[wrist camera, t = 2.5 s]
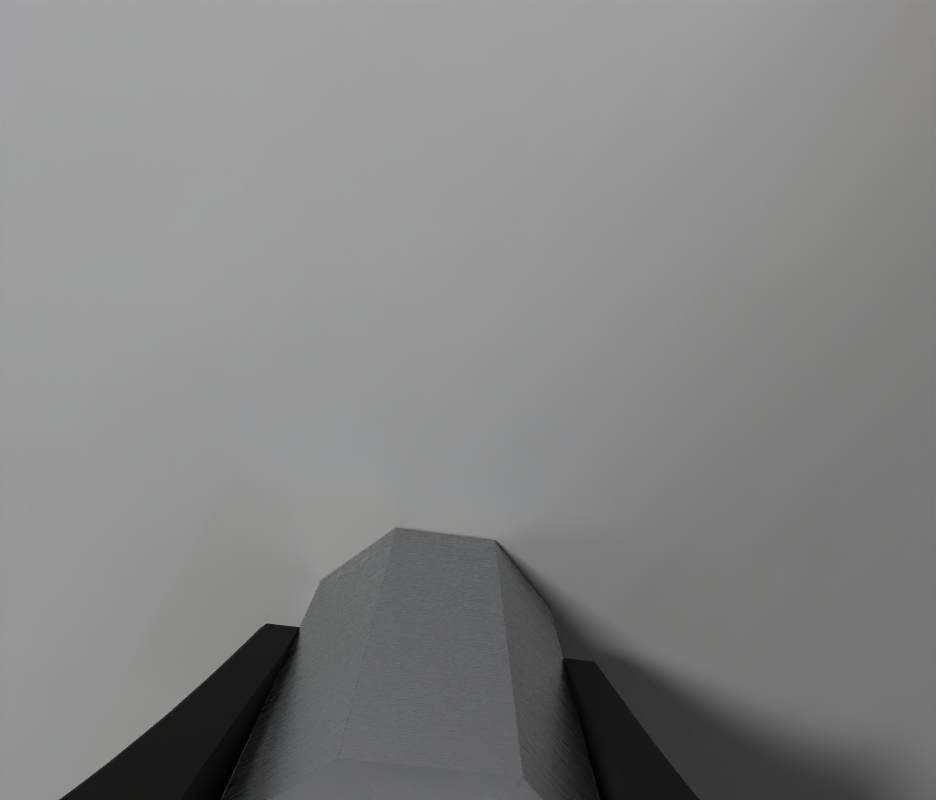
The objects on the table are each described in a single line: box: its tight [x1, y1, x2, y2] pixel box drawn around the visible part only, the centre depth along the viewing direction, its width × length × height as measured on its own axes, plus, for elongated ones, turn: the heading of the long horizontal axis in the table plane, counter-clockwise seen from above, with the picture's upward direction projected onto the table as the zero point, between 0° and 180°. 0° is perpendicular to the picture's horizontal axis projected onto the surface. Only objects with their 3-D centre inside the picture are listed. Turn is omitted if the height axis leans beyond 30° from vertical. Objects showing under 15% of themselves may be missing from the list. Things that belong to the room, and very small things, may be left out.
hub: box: [221, 528, 600, 800], centre depth 8 cm, size 5×5×5 cm
